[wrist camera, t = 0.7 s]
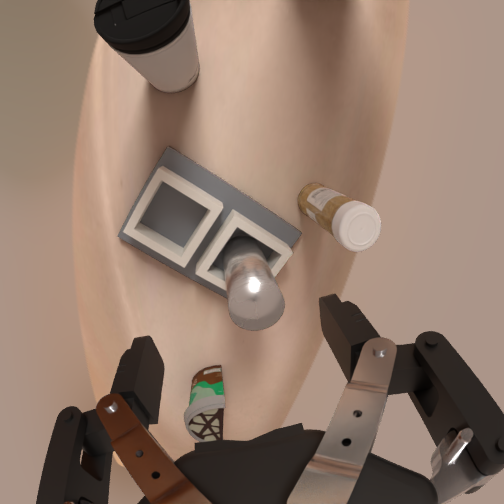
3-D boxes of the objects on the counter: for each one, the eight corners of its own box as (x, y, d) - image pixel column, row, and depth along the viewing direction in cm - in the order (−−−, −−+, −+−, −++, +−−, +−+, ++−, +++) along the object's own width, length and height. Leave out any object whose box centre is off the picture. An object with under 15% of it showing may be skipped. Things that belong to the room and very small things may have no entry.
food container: (183, 357, 44) (180, 404, 35) (221, 358, 45) (225, 405, 36) (187, 404, 48) (186, 447, 39) (219, 404, 49) (223, 447, 40)
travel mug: (208, 81, 30) (207, 14, 12) (157, 101, 30) (96, 58, 12) (193, 40, 28) (180, -52, 9) (143, 58, 28) (80, -12, 9)
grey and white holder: (169, 146, 32) (163, 146, 29) (299, 230, 39) (309, 240, 35) (119, 233, 35) (110, 244, 32) (244, 304, 42) (248, 320, 38)
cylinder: (236, 228, 36) (250, 273, 24) (268, 248, 38) (295, 299, 26) (215, 259, 37) (218, 316, 25) (246, 278, 39) (263, 338, 27)
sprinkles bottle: (298, 218, 38) (340, 257, 26) (295, 184, 36) (338, 208, 24) (330, 213, 38) (382, 248, 26) (328, 180, 37) (383, 202, 24)
